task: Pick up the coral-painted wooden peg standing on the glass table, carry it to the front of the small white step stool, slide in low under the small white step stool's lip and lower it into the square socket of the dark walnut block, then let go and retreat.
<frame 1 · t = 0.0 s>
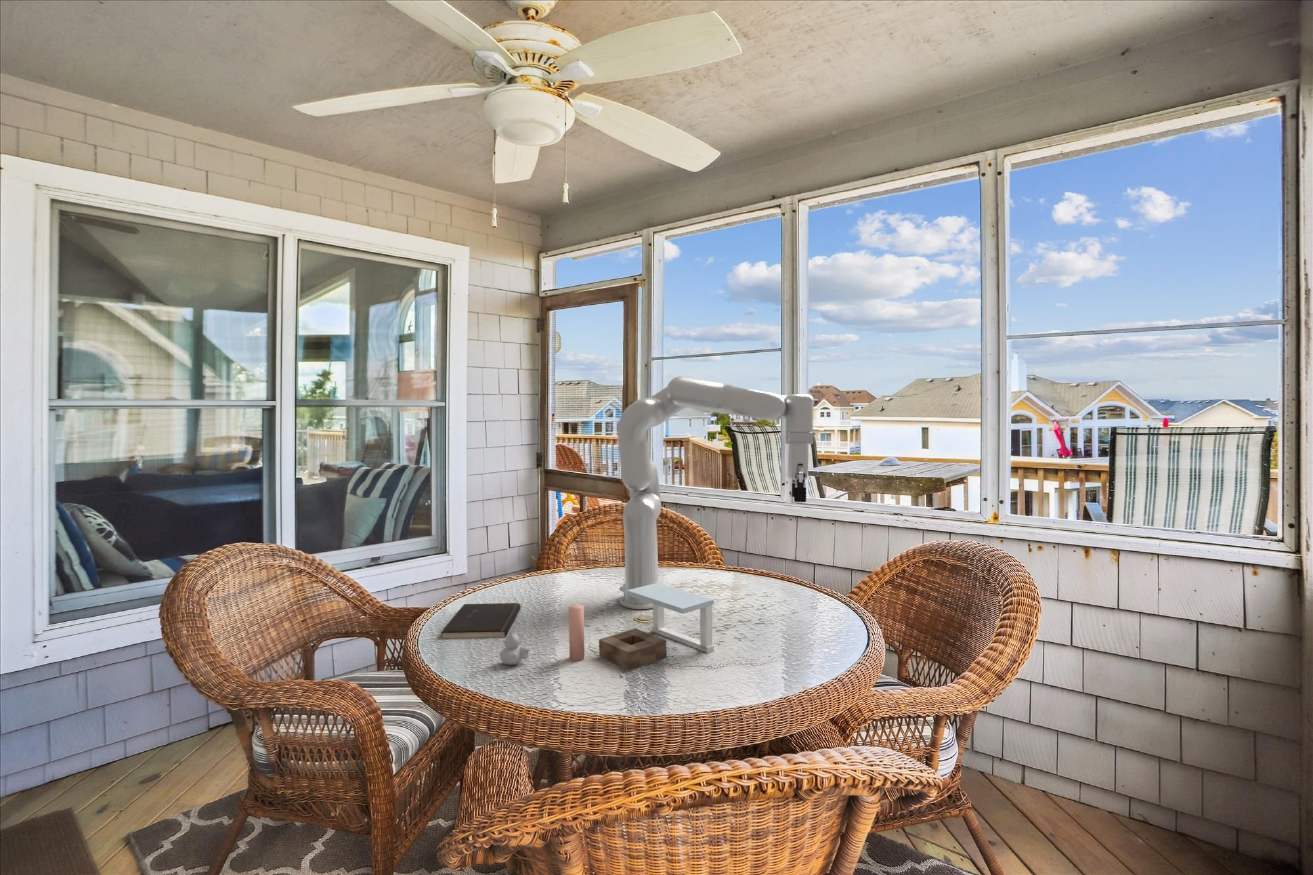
hand: (798, 499, 184), 31 cm above the table, tool pointing down, fingers open, 9 cm apart
socket block: (632, 656, 151), on the table
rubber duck: (515, 664, 148), on the table
small white step stool: (669, 619, 158), on the table
peg: (576, 658, 151), on the table
hardcover book: (483, 625, 176), on the table
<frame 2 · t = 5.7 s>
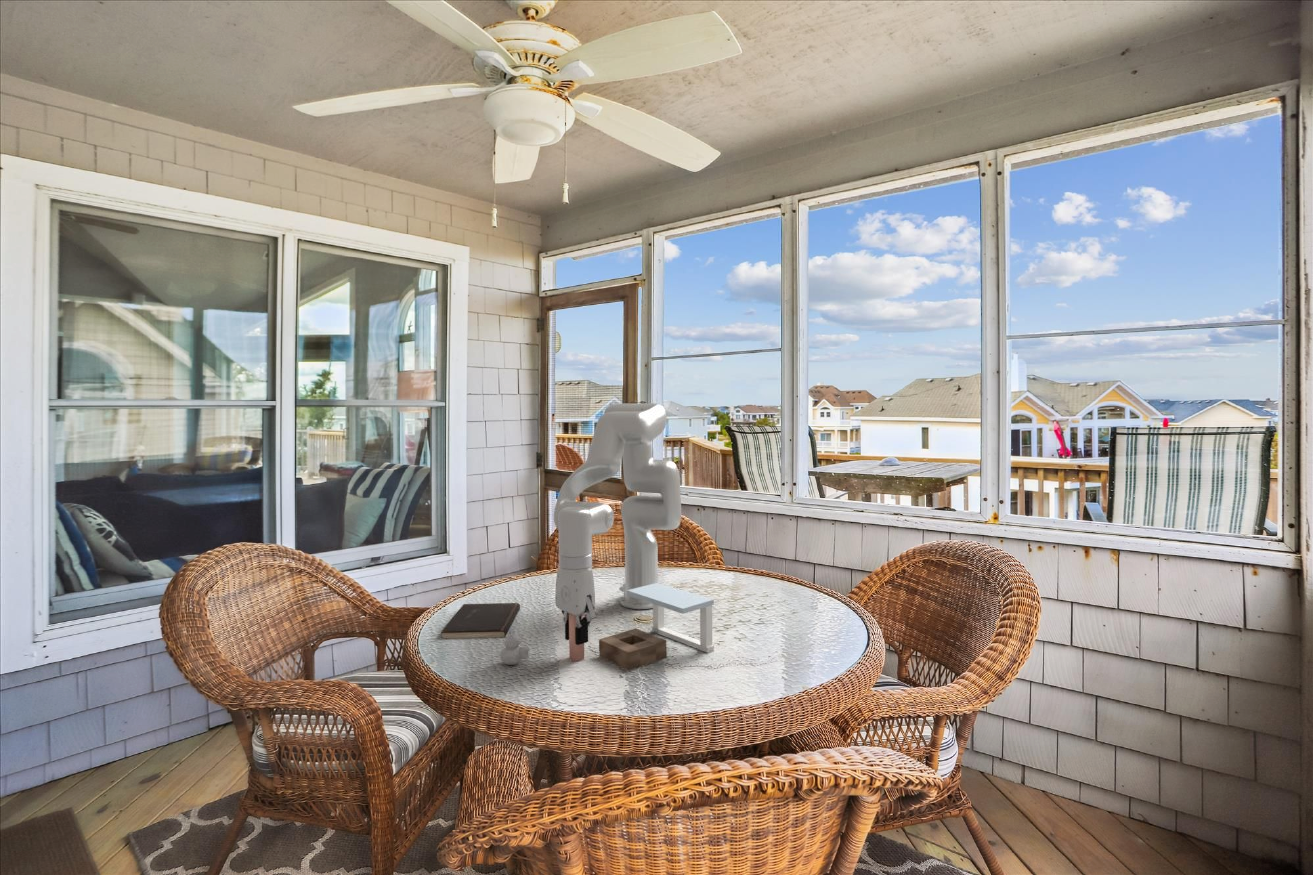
hand: (576, 640, 150), 4 cm above the table, tool pointing down, fingers closed on peg, 3 cm apart
peg: (576, 658, 151), on the table, touching gripper
everything else where it was.
when the fingers open (5 cm above the table, at t = 12.2 s): peg stays where it is, resting in socket block.
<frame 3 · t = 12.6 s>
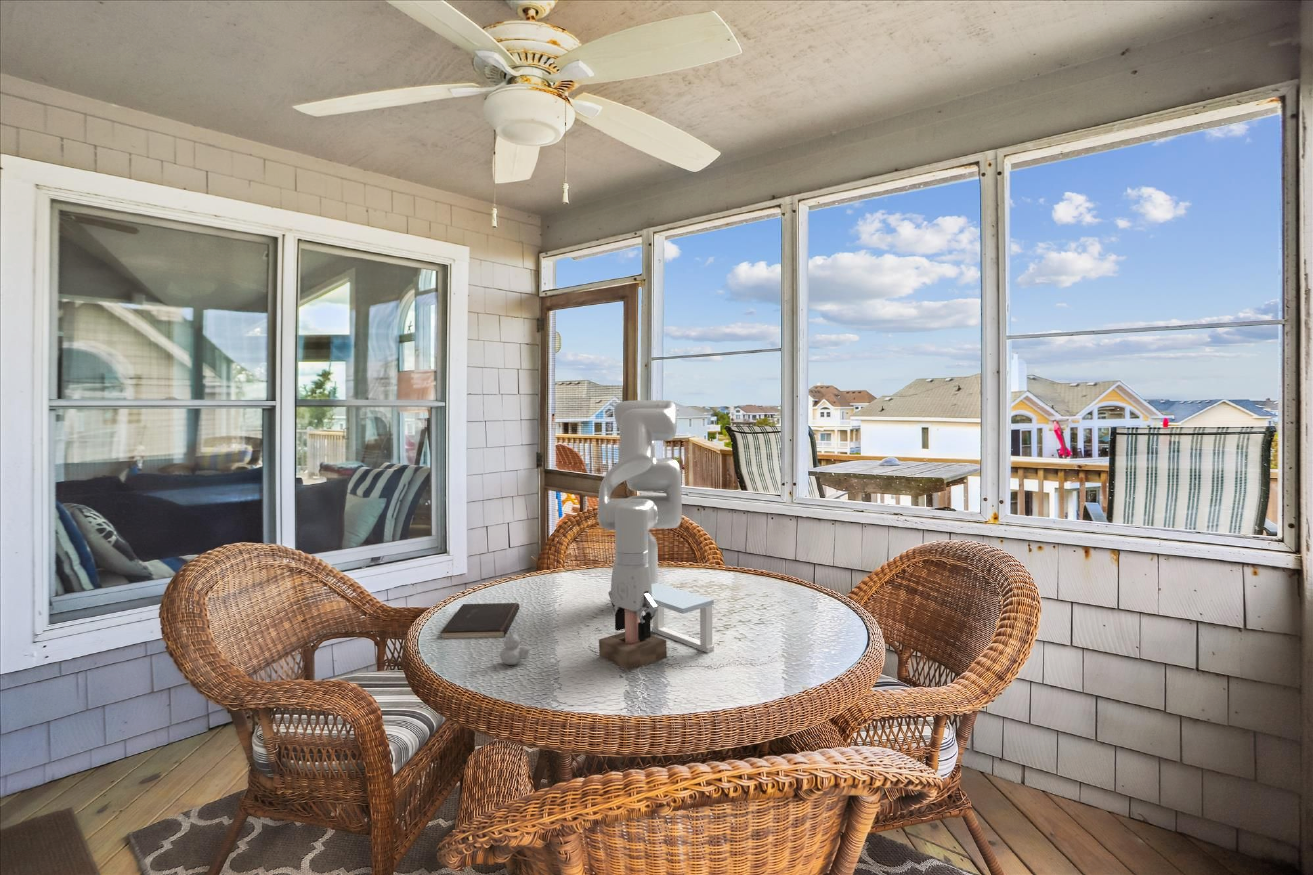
hand: (632, 633, 151), 6 cm above the table, tool pointing down, fingers open, 7 cm apart
peg: (632, 656, 151), resting in socket block
everything else where it was.
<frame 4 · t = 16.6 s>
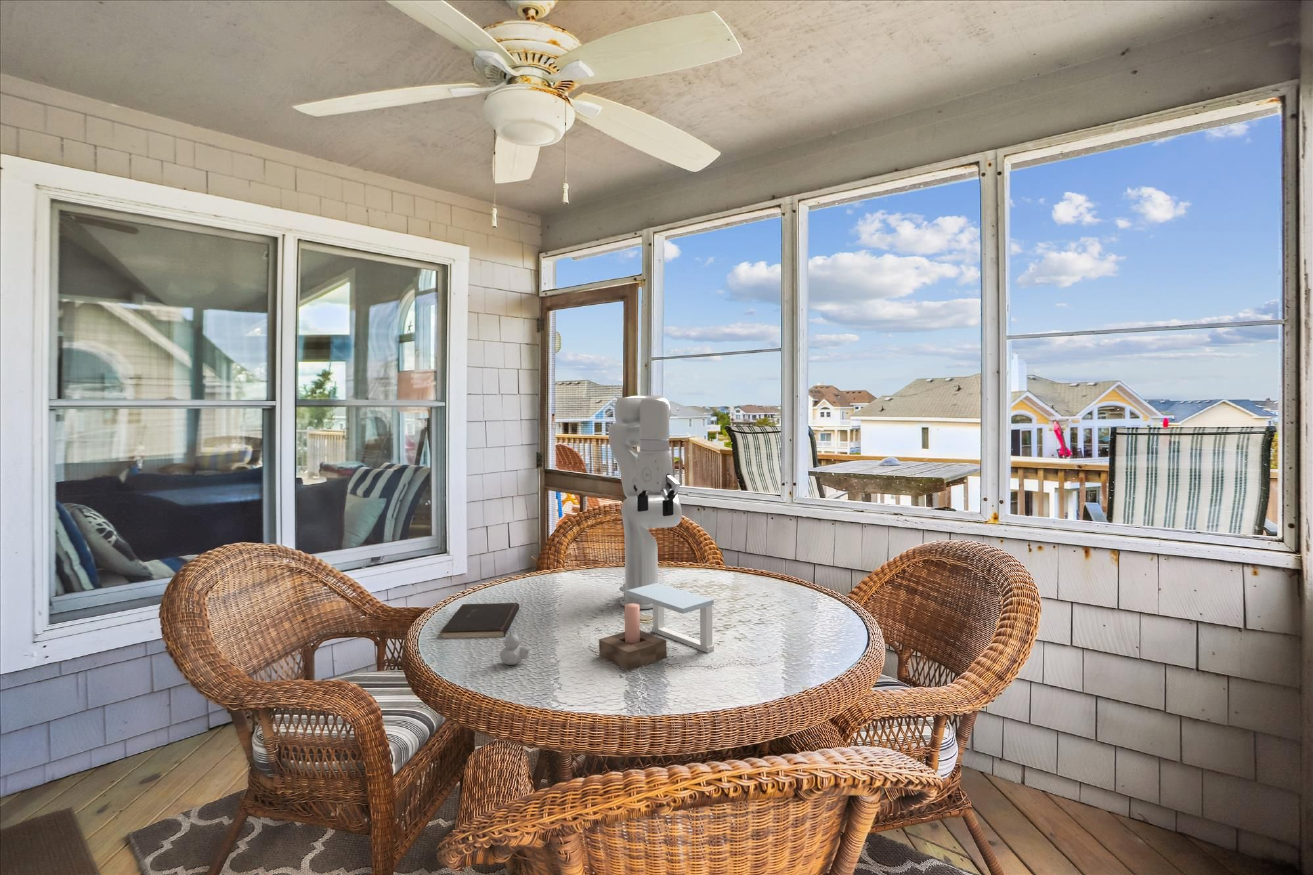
hand: (655, 513, 168), 30 cm above the table, tool pointing down, fingers open, 9 cm apart
nothing on the table moved.
at the end: peg 0.0 cm off-centre on the socket block, point 0.0 cm above the socket block's base; peg tilted 0°; the gripper is holding nothing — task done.
